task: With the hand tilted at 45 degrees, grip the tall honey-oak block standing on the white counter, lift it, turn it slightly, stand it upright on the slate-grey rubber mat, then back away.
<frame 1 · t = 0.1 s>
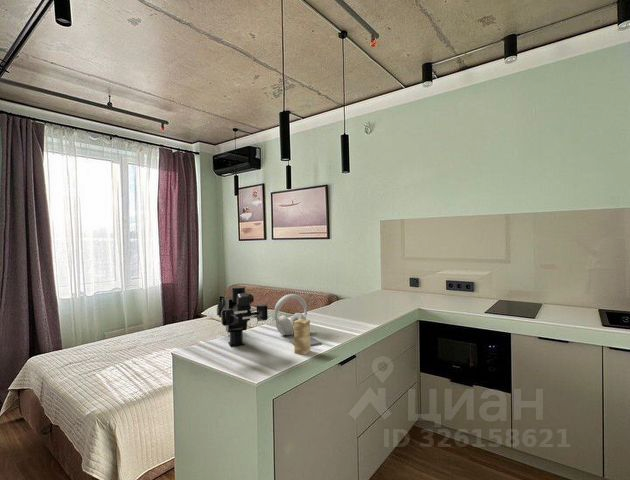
hand: (250, 319, 126), 17 cm above the table, tool horizontal, fingers open, 9 cm apart
oak block: (302, 351, 136), on the table
headphones: (291, 334, 163), on the table
rubber mat: (305, 342, 148), on the table
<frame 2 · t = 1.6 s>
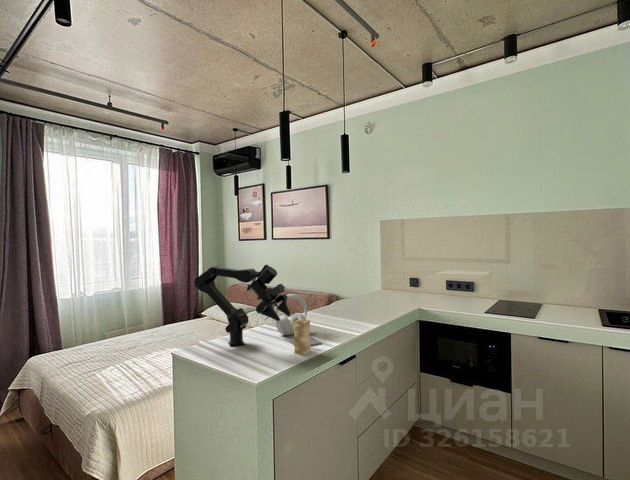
hand: (284, 317, 139), 14 cm above the table, tool tilted 45°, fingers open, 9 cm apart
nothing on the table moved.
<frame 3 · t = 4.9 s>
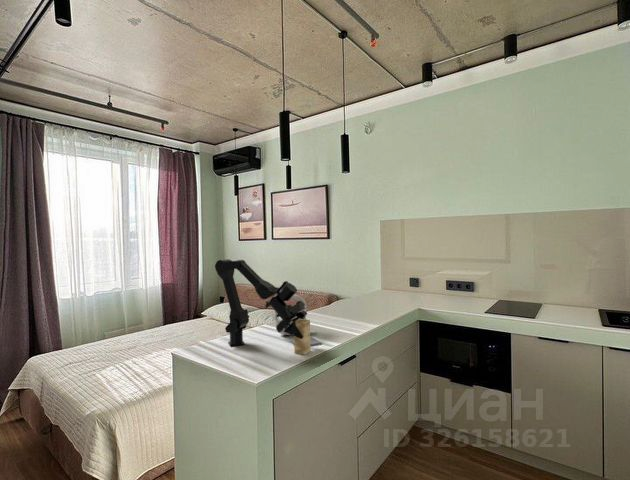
hand: (305, 336, 135), 7 cm above the table, tool tilted 45°, fingers closed on oak block, 5 cm apart
oak block: (302, 351, 136), on the table, touching gripper
everything else where it was.
when the fingers open (8 cm above the table, at t = 8.9 s): oak block stays where it is, resting on rubber mat.
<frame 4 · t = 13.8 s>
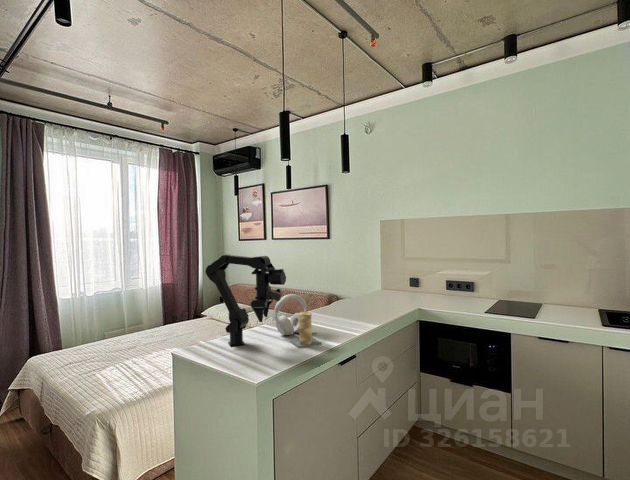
hand: (263, 319, 144), 12 cm above the table, tool pointing down, fingers open, 9 cm apart
oak block: (305, 342, 146), point 1 cm above the table, touching rubber mat
everything else where it was.
at the end: oak block inside the target area on the rubber mat (1.0 cm from its centre), point 0.8 cm above the rubber mat's base; oak block tilted 0°; the gripper is holding nothing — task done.
